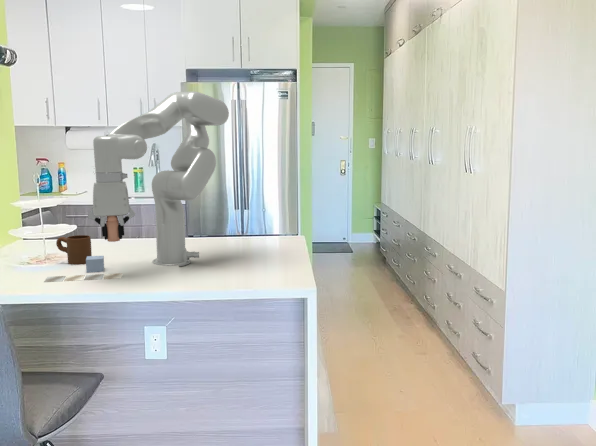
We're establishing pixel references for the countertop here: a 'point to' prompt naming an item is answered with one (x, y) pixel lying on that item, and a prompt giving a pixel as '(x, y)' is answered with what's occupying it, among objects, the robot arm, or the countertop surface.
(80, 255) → the mug
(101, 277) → the track
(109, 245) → the countertop surface
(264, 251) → the countertop surface
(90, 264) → the light blue cube
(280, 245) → the countertop surface
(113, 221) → the pawn
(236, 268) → the countertop surface
